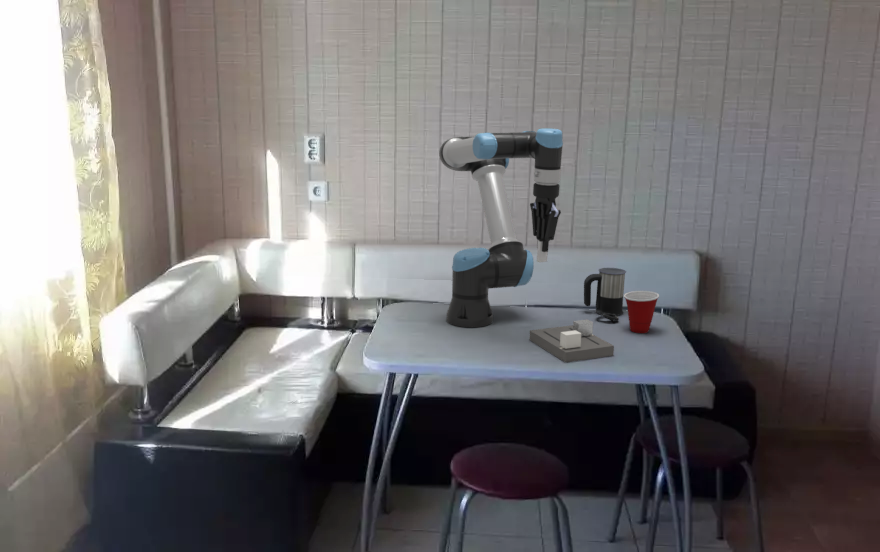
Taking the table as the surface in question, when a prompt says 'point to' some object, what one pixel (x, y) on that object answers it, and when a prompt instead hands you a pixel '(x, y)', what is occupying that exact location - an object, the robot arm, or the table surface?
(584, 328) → the fader
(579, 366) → the table surface
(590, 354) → the slider panel
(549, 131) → the robot arm
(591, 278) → the milk frother
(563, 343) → the fader
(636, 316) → the plastic cup
